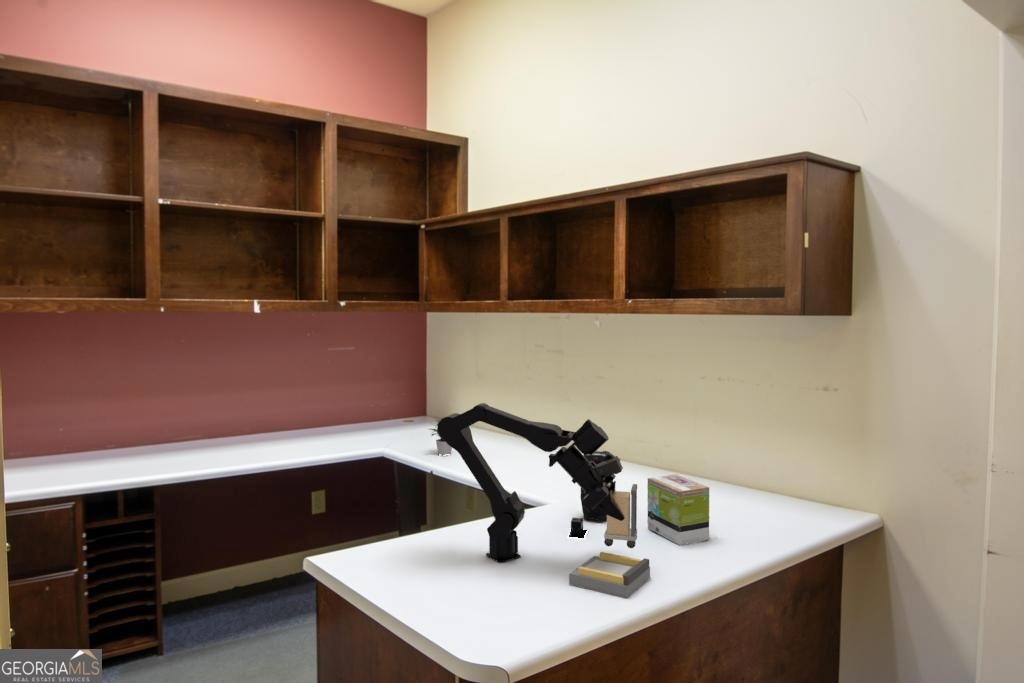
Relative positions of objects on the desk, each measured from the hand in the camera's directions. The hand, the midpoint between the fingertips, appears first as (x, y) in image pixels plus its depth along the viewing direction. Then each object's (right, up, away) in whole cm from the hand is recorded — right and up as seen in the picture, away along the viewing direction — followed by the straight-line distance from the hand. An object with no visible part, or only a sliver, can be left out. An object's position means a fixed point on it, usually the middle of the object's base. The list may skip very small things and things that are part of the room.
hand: (624, 516), depth 167 cm
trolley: (-1, -7, +1) cm, 7 cm away
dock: (-4, -13, -8) cm, 16 cm away
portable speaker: (-2, -11, +39) cm, 40 cm away
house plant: (-55, -6, +129) cm, 140 cm away
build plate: (-9, -12, +25) cm, 29 cm away
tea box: (+18, -11, +24) cm, 32 cm away
